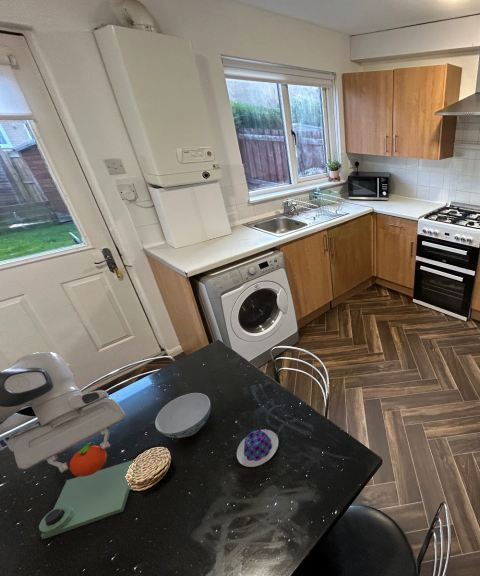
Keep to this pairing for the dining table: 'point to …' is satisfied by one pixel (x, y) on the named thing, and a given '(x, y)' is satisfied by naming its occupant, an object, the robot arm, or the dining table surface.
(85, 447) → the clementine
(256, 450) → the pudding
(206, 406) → the chinaware
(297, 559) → the dining table surface
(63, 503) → the scale
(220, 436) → the dining table surface
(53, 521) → the button
